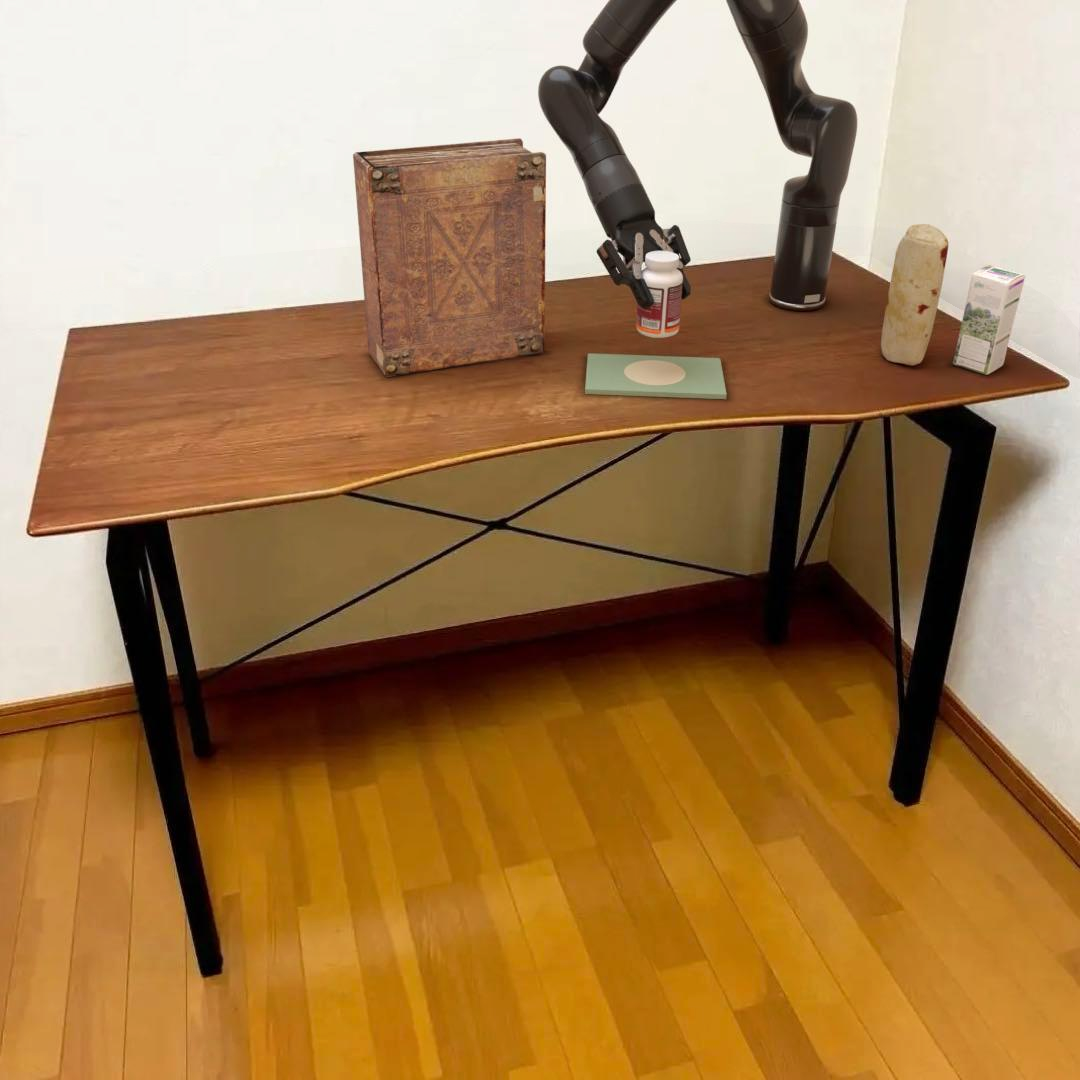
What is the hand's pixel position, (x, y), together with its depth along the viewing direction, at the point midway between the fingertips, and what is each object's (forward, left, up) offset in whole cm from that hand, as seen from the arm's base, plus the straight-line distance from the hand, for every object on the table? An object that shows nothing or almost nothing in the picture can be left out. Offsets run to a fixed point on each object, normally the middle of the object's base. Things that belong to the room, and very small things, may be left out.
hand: (667, 301), depth 156 cm
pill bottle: (-1, -1, -5) cm, 5 cm away
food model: (-12, +37, -12) cm, 41 cm away
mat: (-1, -1, -12) cm, 12 cm away
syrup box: (-10, +48, -12) cm, 51 cm away
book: (-7, -31, -12) cm, 34 cm away
